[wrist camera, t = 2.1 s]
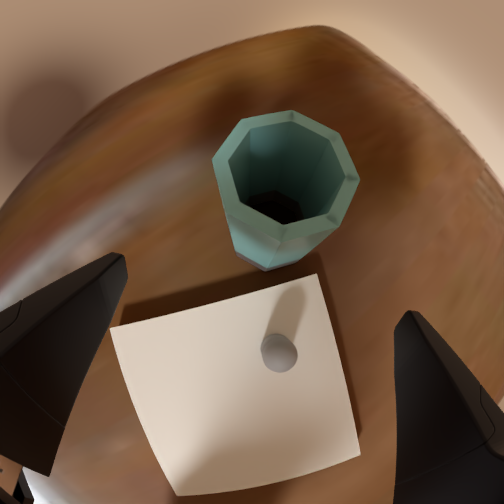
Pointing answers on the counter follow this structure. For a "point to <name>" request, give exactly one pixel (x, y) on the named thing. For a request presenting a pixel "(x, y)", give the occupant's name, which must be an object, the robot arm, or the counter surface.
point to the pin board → (240, 389)
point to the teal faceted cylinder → (283, 185)
